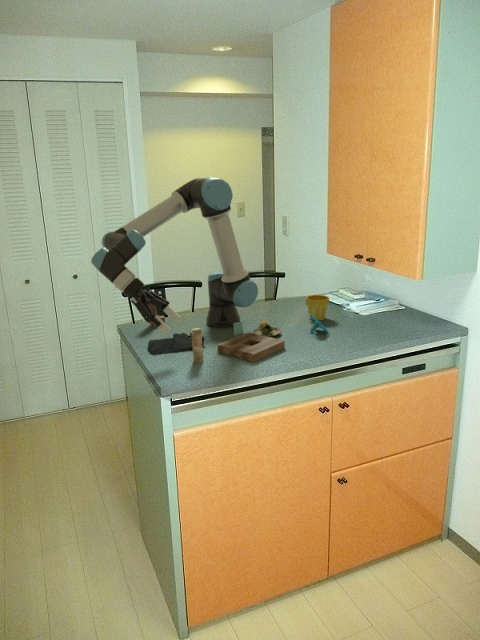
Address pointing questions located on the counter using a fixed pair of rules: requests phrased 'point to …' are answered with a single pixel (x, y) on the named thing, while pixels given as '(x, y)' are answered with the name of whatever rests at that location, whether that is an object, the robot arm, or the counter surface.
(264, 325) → the burger
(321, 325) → the gear
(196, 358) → the long maple pin
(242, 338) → the walnut hole board
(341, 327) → the counter surface
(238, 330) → the short teal pin
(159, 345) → the dark slate chunk
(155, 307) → the wooden block
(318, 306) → the plant pot
